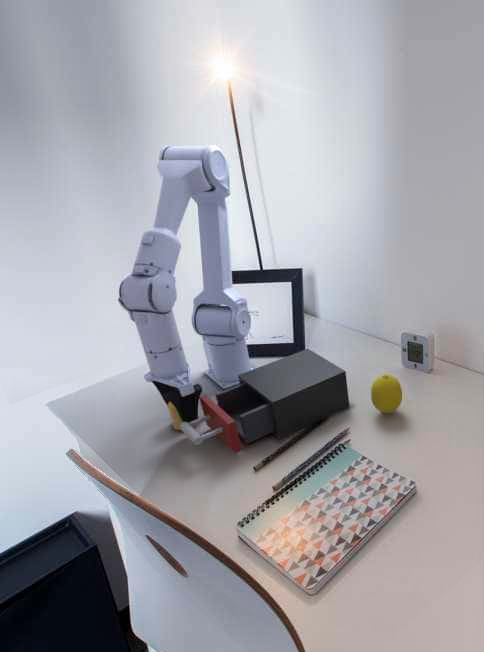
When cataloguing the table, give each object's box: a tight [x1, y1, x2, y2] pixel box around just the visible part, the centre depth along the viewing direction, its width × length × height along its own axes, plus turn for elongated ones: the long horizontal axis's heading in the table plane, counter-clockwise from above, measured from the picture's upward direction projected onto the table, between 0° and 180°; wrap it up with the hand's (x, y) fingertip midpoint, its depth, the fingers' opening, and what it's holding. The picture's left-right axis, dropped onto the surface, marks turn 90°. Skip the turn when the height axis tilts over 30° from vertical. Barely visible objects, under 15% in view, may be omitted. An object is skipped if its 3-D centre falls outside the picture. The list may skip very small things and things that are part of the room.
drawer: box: [180, 383, 276, 454], centre depth 90 cm, size 18×11×6 cm, turn 132°
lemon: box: [370, 373, 403, 415], centre depth 94 cm, size 6×6×8 cm
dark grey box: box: [238, 348, 350, 440], centre depth 96 cm, size 15×13×8 cm
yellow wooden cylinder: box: [167, 402, 195, 431], centre depth 94 cm, size 4×4×4 cm
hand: (182, 414), depth 94 cm, fingers open, 7 cm apart
